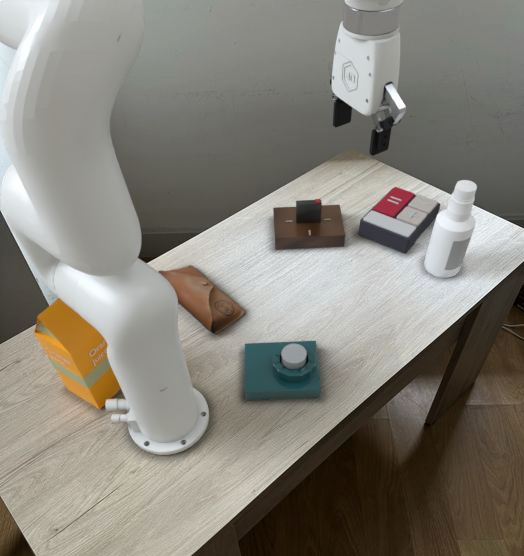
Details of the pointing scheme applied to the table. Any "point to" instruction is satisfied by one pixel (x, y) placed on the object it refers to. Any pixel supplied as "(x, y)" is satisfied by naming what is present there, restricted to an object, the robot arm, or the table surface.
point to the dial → (308, 211)
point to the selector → (308, 229)
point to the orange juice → (77, 353)
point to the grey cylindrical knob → (294, 356)
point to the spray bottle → (452, 232)
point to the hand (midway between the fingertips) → (359, 137)
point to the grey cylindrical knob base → (280, 372)
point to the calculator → (398, 219)
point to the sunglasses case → (203, 299)
